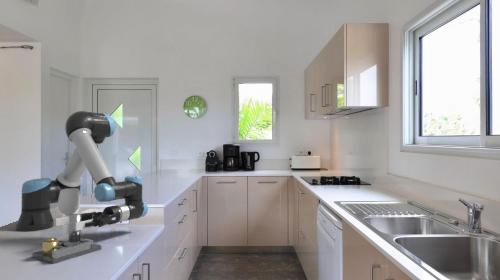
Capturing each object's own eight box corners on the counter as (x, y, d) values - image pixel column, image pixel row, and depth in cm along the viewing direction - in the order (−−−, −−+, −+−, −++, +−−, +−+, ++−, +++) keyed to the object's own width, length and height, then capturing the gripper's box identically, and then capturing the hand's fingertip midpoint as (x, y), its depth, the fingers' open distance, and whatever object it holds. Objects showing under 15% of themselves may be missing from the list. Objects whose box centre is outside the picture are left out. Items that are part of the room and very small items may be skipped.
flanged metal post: (59, 247, 119) (60, 215, 120) (77, 242, 125) (78, 212, 126) (71, 250, 116) (72, 217, 116) (88, 245, 122) (89, 213, 122)
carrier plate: (31, 256, 113) (31, 238, 113) (79, 243, 129) (80, 227, 129) (53, 263, 106) (53, 244, 107) (101, 249, 122) (101, 232, 122)
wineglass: (69, 241, 132) (70, 190, 132) (51, 240, 133) (52, 190, 134) (84, 236, 140) (85, 188, 141) (67, 235, 142) (68, 187, 142)
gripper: (134, 226, 131) (85, 239, 112) (97, 219, 142) (46, 230, 123) (135, 208, 131) (85, 217, 112) (97, 203, 143) (47, 211, 124)
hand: (65, 224), depth 118 cm, fingers open, 12 cm apart
